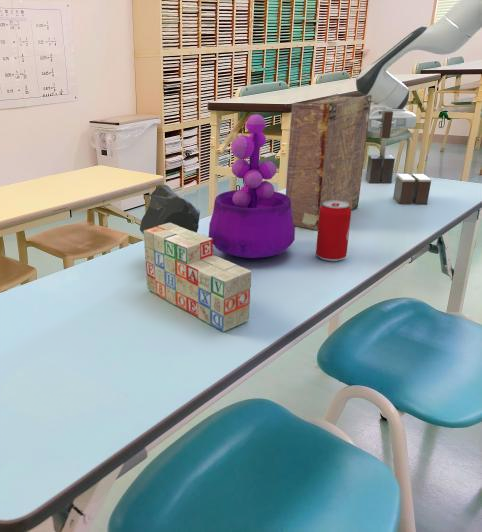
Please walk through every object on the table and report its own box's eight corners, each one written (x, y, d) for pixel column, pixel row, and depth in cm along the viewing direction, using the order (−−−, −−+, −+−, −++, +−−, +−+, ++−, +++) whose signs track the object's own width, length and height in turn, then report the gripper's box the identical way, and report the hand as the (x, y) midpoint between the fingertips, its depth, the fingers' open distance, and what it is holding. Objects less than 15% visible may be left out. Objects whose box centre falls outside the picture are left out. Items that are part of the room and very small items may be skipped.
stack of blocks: (250, 320, 87) (253, 253, 82) (223, 333, 84) (224, 264, 79) (171, 279, 104) (169, 221, 99) (146, 288, 100) (142, 228, 95)
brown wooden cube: (393, 197, 152) (396, 173, 150) (419, 197, 151) (423, 173, 148) (399, 204, 146) (403, 179, 143) (427, 204, 145) (431, 179, 142)
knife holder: (369, 183, 169) (372, 158, 166) (365, 178, 174) (368, 155, 171) (391, 183, 167) (395, 158, 164) (386, 179, 173) (390, 154, 170)
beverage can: (348, 254, 113) (355, 201, 108) (342, 264, 108) (349, 209, 103) (318, 250, 116) (324, 198, 111) (312, 260, 111) (317, 205, 106)
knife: (378, 167, 167) (385, 112, 160) (375, 164, 171) (381, 110, 165) (386, 167, 166) (394, 112, 160) (382, 163, 171) (390, 110, 164)
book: (326, 202, 151) (337, 93, 139) (358, 207, 145) (372, 94, 133) (283, 224, 134) (291, 103, 122) (317, 231, 128) (329, 104, 116)
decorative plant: (258, 275, 105) (267, 122, 93) (191, 253, 118) (190, 116, 106) (309, 250, 116) (322, 111, 105) (242, 233, 129) (247, 107, 117)
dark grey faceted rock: (213, 259, 114) (214, 178, 107) (188, 286, 101) (187, 197, 94) (154, 251, 120) (151, 174, 113) (123, 276, 107) (118, 191, 100)
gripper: (345, 110, 176) (352, 115, 164) (410, 108, 172) (423, 113, 160) (343, 129, 179) (350, 135, 166) (407, 128, 175) (420, 134, 162)
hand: (386, 124), depth 163 cm, fingers closed on knife, 2 cm apart
